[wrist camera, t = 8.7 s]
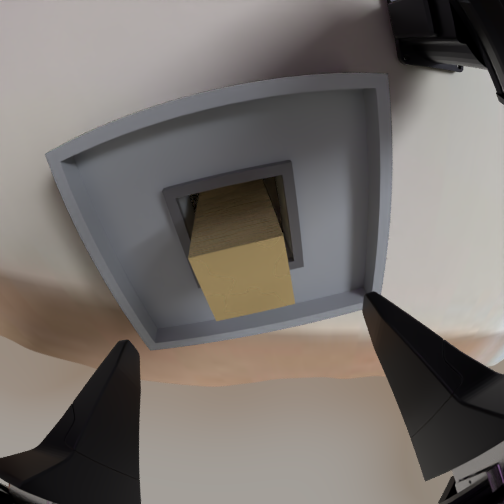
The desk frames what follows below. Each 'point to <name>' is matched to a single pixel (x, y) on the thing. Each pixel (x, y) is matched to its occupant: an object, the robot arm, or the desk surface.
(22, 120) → the desk surface
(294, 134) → the grey socket tray
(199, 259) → the connector plug
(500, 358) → the desk surface
